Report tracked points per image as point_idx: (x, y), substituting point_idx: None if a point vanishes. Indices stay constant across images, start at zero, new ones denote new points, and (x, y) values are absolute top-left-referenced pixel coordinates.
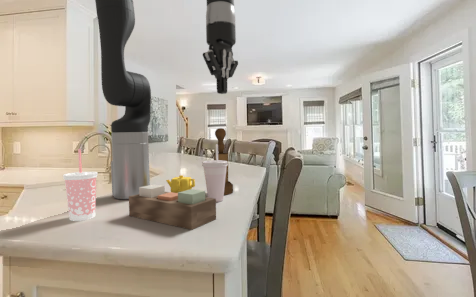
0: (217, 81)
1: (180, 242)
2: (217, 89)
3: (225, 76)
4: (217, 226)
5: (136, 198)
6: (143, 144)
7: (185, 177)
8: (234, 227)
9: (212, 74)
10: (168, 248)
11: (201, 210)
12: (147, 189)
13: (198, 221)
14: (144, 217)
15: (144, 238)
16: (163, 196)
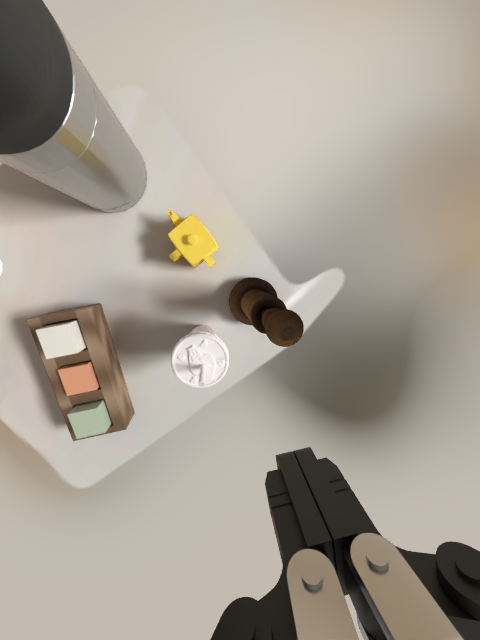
0: (278, 542)
1: (57, 443)
2: (265, 484)
3: (358, 619)
4: (117, 433)
5: (35, 338)
6: (58, 171)
7: (204, 240)
8: (130, 447)
9: (233, 616)
10: (39, 448)
11: None
12: (44, 350)
13: None
14: None
15: (30, 409)
16: (62, 382)
